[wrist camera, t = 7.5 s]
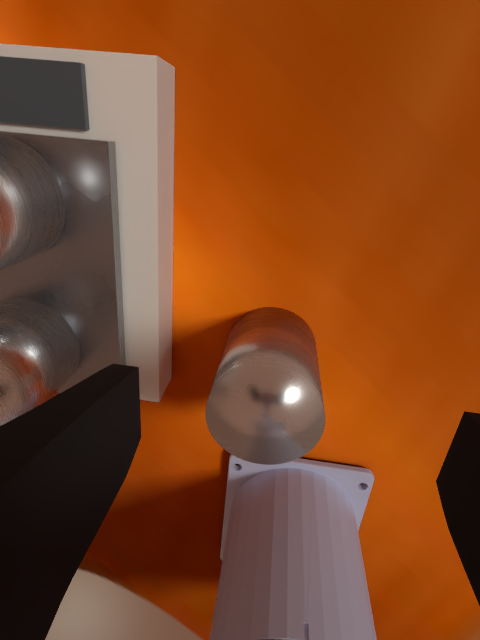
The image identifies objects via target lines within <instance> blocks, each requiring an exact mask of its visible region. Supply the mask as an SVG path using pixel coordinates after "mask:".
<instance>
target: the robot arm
mask: <svg viewBox="0 0 480 640" xmlns="http://www.w3.org/2000/svg"><path fill="white" fill-rule="evenodd" d="M140 438H141V421H140V389H139V367H135V366H127V365H120V364H111V365H109V366H107V367H105V368H103V369H102V370H100V371H98V372H96V373H94V374H93V375H91V376H89V377H88V378H86V379H84V380H82V381H81V382H79V383H77V384H76V385H74V386H72V387H70V388H69V389H67V390H65V391H63V392H62V393H60V394H58V395H56V396H55V397H53V398H51V399H49V400H48V401H46V402H44V403H42V404H41V405H39V406H37V407H35V408H34V409H32V410H30V411H28V412H26V413H24V414H22V415H20V416H18V417H17V418H15V419H13V420H11V421H9V422H7V423H5V424H3V425H1V426H0V640H45V638H46V636H47V634H48V631H49V629H50V627H51V624H52V622H53V620H54V617H55V615H56V613H57V610H58V608H59V605H60V603H61V601H62V599H63V597H64V595H65V593H66V591H67V588H68V586H69V585H70V582H71V580H72V578H73V576H74V574H75V573H76V570H77V569H78V567H79V565H80V563H81V561H82V559H83V557H84V556H85V554H86V552H87V550H88V548H89V546H90V544H91V542H92V541H93V539H94V537H95V535H96V533H97V531H98V529H99V527H100V525H101V524H102V522H103V520H104V518H105V516H106V514H107V512H108V510H109V509H110V507H111V505H112V503H113V501H114V499H115V497H116V495H117V493H118V491H119V489H120V487H121V486H122V484H123V482H124V480H125V478H126V475H127V473H128V470H129V468H130V465H131V463H132V460H133V457H134V455H135V452H136V449H137V447H138V444H139V441H140ZM235 464H240V466H237V465H235ZM373 482H374V476H373V473H372V471H371V470H369V469H366V468H360V467H354V466H347V465H340V464H334V463H327V462H320V461H314V460H307V459H300V458H298V459H296V460H293V461H290V462H287V463H282V464H274V465H264V464H256V463H251V462H248V461H245V460H242V459H240V458H237V457H235V456H234V455H232V454H230V457H229V467H228V477H227V488H226V498H225V509H224V520H223V530H222V541H221V551H220V559H221V560H222V566H221V572H220V578H219V585H218V591H217V597H216V603H215V609H214V615H213V621H212V628H211V634H210V640H377V639H376V633H375V628H374V622H373V616H372V610H371V604H370V599H369V593H368V587H367V581H366V576H365V570H364V564H363V558H362V552H361V547H360V541H359V535H358V530H359V527H360V524H361V521H362V518H363V514H364V511H365V508H366V505H367V502H368V498H369V495H370V492H371V489H372V485H373ZM361 483H365V484H361ZM436 483H437V487H438V491H439V495H440V499H441V503H442V507H443V511H444V514H445V518H446V522H447V525H448V528H449V531H450V534H451V536H452V539H453V541H454V544H455V546H456V549H457V552H458V554H459V557H460V559H461V562H462V564H463V567H464V569H465V571H466V574H467V576H468V579H469V581H470V584H471V586H472V589H473V591H474V593H475V596H476V598H477V601H478V603H479V606H480V414H479V413H471V412H464V414H463V416H462V419H461V421H460V424H459V426H458V428H457V431H456V433H455V436H454V438H453V441H452V443H451V446H450V448H449V451H448V453H447V456H446V458H445V461H444V463H443V466H442V468H441V470H440V473H439V475H438V478H437V480H436Z"/></svg>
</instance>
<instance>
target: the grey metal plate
mask: <svg viewBox="0 0 480 640" xmlns="http://www.w3.org/2000/svg"><path fill="white" fill-rule="evenodd" d="M0 134H3V135H7V136H11V137H13V138H16V139H18V140H20V141H22V142H24V143H25V144H27V145H28V146H30V147H31V148H33V149H34V150H35V151H36V152H37V153H38V154H39V155H40V156H41V157H42V158H43V159H44V160H45V161H46V162H47V164H48V165H49V166H50V168H51V169H52V171H53V173H54V174H55V176H56V178H57V180H58V182H59V184H60V187H61V190H62V193H63V198H64V203H65V221H64V226H63V229H62V232H61V234H60V236H59V238H58V239H57V241H56V242H55V243H54V244H53V245H52V246H51V247H50V248H49V249H48V250H46V251H44V252H42V253H40V254H38V255H36V256H33V257H31V258H29V259H27V260H24V261H22V262H20V263H17V264H15V265H13V266H11V267H8V268H6V269H4V270H2V271H0V302H1V301H3V300H5V299H9V298H16V297H21V298H29V299H33V300H36V301H39V302H41V303H44V304H46V305H47V306H49V307H51V308H52V309H54V310H55V311H57V312H58V313H59V314H60V315H61V316H62V317H63V318H64V319H65V320H66V321H67V322H68V323H69V325H70V326H71V328H72V329H73V331H74V333H75V335H76V337H77V339H78V343H79V347H80V362H79V365H78V368H77V370H76V371H75V373H74V374H73V375H72V376H71V378H70V379H69V380H68V381H67V382H66V383H65V384H64V385H63V386H62V387H61V388H60V389H59V390H58V391H57V393H62V392H63V391H65V390H67V389H69V388H70V387H72V386H74V385H76V384H77V383H79V382H81V381H82V380H84V379H86V378H88V377H89V376H91V375H93V374H94V373H96V372H98V371H100V370H102V369H103V368H105V367H107V366H109V365H111V364H120V365H126V357H125V336H124V315H123V294H122V273H121V252H120V231H119V210H118V189H117V168H116V147H115V142H114V141H103V140H93V139H82V138H72V137H61V136H50V135H40V134H29V133H19V132H8V131H0Z"/></svg>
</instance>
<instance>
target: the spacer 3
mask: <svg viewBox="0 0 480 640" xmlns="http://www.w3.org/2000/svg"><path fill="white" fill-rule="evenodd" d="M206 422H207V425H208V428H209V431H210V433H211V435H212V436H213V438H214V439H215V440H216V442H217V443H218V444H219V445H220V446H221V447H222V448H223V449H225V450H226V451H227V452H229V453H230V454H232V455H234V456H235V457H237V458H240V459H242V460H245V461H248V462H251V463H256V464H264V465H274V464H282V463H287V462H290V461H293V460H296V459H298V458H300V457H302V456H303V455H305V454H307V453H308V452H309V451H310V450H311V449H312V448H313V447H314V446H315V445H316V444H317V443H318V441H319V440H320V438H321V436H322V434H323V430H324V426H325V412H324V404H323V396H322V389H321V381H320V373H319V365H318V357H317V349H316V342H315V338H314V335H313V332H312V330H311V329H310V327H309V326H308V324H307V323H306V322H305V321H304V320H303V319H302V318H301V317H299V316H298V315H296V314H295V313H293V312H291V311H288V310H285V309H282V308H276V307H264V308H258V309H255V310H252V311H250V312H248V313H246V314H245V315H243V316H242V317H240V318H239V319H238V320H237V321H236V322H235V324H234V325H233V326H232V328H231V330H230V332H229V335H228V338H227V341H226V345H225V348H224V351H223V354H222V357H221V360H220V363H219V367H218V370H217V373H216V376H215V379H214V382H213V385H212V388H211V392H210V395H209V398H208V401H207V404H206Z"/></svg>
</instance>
